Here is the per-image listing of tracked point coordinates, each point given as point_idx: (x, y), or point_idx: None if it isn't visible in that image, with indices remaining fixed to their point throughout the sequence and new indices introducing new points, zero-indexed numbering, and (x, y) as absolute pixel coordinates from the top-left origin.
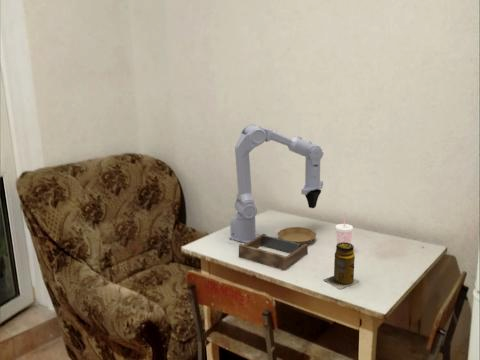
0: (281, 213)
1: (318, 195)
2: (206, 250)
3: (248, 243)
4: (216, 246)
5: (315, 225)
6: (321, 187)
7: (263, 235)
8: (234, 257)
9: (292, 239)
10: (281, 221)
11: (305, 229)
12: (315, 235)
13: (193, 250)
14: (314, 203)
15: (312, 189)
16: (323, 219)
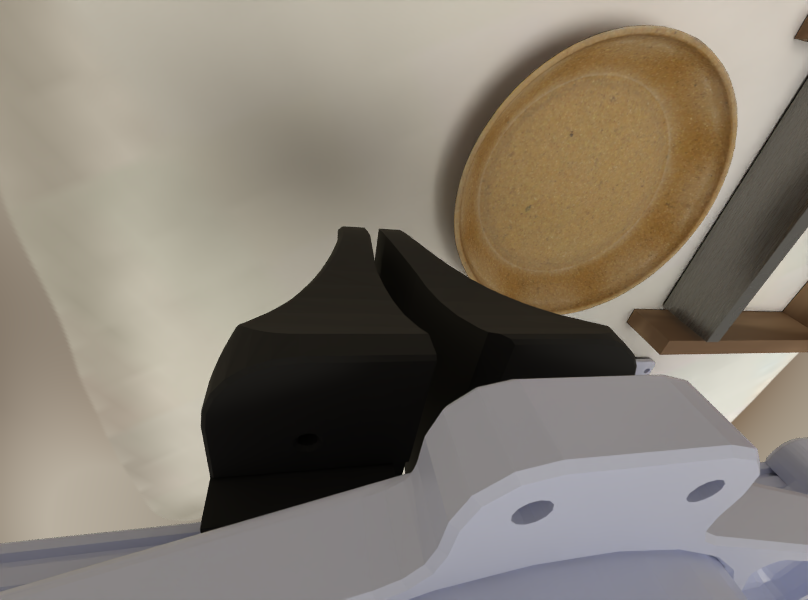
0: (175, 443)
1: (336, 300)
2: None
3: (784, 345)
4: None
5: (238, 168)
6: (649, 424)
7: (717, 337)
8: None
9: (578, 209)
10: None
11: (465, 184)
12: (610, 37)
13: None
14: (426, 252)
15: (802, 509)
16: (26, 157)
